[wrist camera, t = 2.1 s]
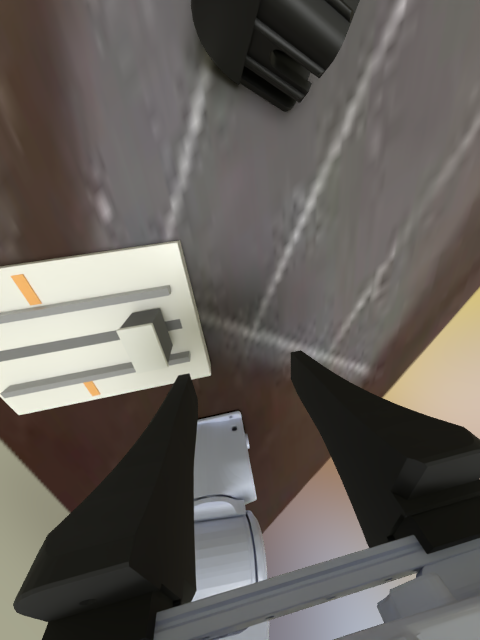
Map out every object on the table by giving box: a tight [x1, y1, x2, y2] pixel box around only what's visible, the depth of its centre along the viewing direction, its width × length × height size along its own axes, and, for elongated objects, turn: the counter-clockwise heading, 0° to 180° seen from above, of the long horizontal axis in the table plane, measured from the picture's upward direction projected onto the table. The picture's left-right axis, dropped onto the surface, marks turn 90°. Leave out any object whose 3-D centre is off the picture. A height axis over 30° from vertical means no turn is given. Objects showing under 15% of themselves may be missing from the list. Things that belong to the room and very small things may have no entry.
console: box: [0, 240, 211, 415], centre depth 18 cm, size 20×14×3 cm
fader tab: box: [116, 308, 173, 374], centre depth 17 cm, size 2×4×3 cm, turn 7°
